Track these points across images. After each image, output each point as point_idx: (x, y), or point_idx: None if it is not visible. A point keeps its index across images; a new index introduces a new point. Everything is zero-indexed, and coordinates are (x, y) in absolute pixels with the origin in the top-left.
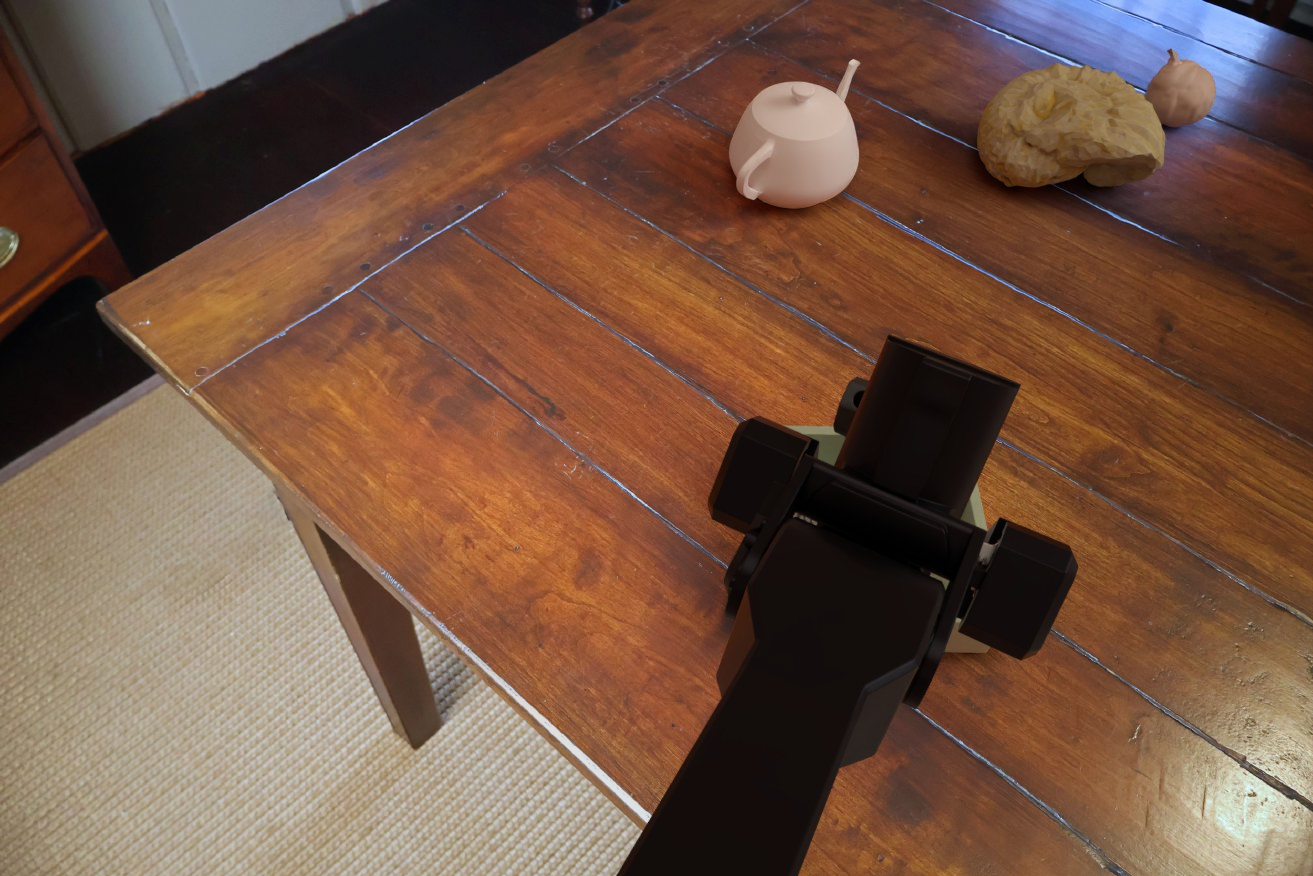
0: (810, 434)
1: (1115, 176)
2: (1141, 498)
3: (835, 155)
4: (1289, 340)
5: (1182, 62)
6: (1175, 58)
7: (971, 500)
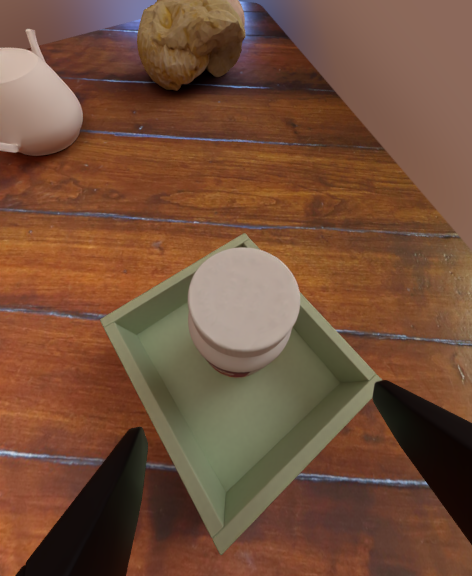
0: (129, 312)
1: (224, 64)
2: (348, 217)
3: (47, 91)
4: (343, 107)
5: None
6: None
7: None
